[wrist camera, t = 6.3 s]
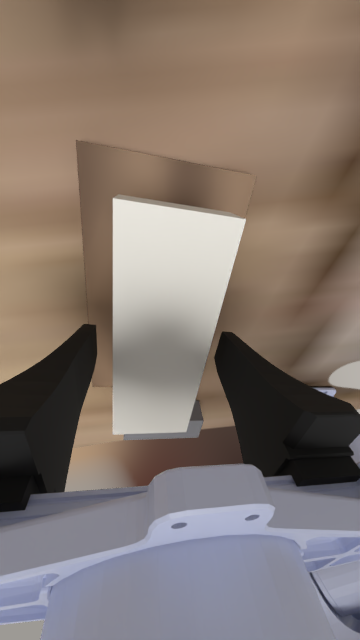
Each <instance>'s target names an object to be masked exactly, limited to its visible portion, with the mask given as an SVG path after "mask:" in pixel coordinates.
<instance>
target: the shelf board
mask: <svg viewBox="0 0 360 640" xmlns="http://www.w3.org/2000/svg"><path fill="white" fill-rule="evenodd" d="M245 222H246V219H244V218H242V217H240V216H237V215H235V214H233V213H230V212H225V211H219V210H212V209H206V208H200V207H194V206H188V205H181V204H175V203H169V202H163V201H157V200H151V199H144V198H138V197H132V196H126V195H120V194H118V195H117V196H115V197H114V198H113V435H114V434H146V433H178V432H186V431H187V428H188V424H189V421H190V417H191V413H192V410H193V406H194V403H195V399H196V396H197V392H198V389H199V385H200V381H201V378H202V374H203V371H204V367H205V364H206V360H207V357H208V353H209V350H210V346H211V342H212V339H213V335H214V332H215V328H216V325H217V321H218V318H219V314H220V310H221V307H222V303H223V300H224V296H225V293H226V289H227V286H228V282H229V278H230V275H231V271H232V268H233V264H234V261H235V257H236V254H237V250H238V247H239V243H240V239H241V236H242V232H243V229H244V225H245Z"/></svg>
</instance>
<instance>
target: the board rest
mask: <svg viewBox="0 0 360 640" xmlns="http://www.w3.org/2000/svg"><path fill="white" fill-rule="evenodd" d="M202 424H203V416H202V412H201V408H200V404H199V401H195V403H194V406H193V410H192V413H191V417H190V421H189V424H188V428H187V431H186V432H178V433H146V434H124V440H137V439H138V440H139V439H165V438H193V437H198V436H199V433H200V430H201V427H202Z"/></svg>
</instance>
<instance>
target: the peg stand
mask: <svg viewBox="0 0 360 640" xmlns="http://www.w3.org/2000/svg"><path fill="white" fill-rule="evenodd" d="M76 147H77V162H78V177H79V192H80V207H81V222H82V236H83V251H84V266H85V281H86V296H87V310H88V324H91V325H96V333H97V359H96V364H95V369H94V373H93V376H92V385H93V387H113V198H114V197H115V196H117V195H118V194H120V195H126V196H132V197H138V198H144V199H151V200H157V201H163V202H169V203H175V204H181V205H188V206H194V207H200V208H206V209H212V210H219V211H225V212H230V213H233V214H235V215H237V216H240V217H242V218H244V219H245V217H246V214H247V210H248V206H249V203H250V199H251V196H252V192H253V188H254V185H255V181H256V178H257V176H256V175H251V174H246V173H241V172H235V171H230V170H225V169H220V168H215V167H210V166H205V165H200V164H195V163H190V162H185V161H180V160H174V159H169V158H164V157H159V156H154V155H149V154H144V153H139V152H134V151H129V150H124V149H119V148H114V147H108V146H103V145H98V144H93V143H88V142H83V141H78V140H76Z"/></svg>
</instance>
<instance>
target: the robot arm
mask: <svg viewBox="0 0 360 640" xmlns="http://www.w3.org/2000/svg"><path fill="white" fill-rule="evenodd" d="M96 359H97V333H96V325H91V324H84V325H82V326H81V327H80V328H79V329H78V330H77V331H76V332H75V333H74V334H73V335H72V336H71V337H70V338H69V339H67V340H66V341H65V342H64V343H63V344H62V345H61V346H60V347H58V348H57V349H56V350H55V351H53V352H52V353H51V354H49V355H48V356H47V357H46V358H44V359H43V360H41V361H40V362H38V363H37V364H35V365H34V366H32V367H31V368H29V369H27V370H26V371H24V372H22V373H20V374H19V375H17V376H15V377H13V378H11V379H10V380H8V381H6V382H4V383H2V384H0V625H2V624H11V623H20V622H30V621H39V620H45V621H44V626H43V630H42V634H41V638H40V640H360V414H359V413H358V412H357V411H356V409H355V408H354V407H353V406H352V405H351V404H350V403H347V402H345V401H342V400H340V399H337V398H335V397H333V396H334V395H335V393H336V390H335V389H334V388H312V387H310V386H308V385H306V384H304V383H302V382H300V381H298V380H296V379H295V378H293V377H291V376H289V375H288V374H286V373H284V372H283V371H281V370H280V369H278V368H277V367H275V366H274V365H272V364H271V363H270V362H268V361H267V360H265V359H264V358H263V357H262V356H260V355H259V354H258V353H256V352H255V351H254V350H253V349H252V348H250V347H249V346H248V345H247V344H246V343H244V342H243V341H242V340H241V339H240V338H239V337H237V336H236V335H235V334H233V333H232V332H222V334H221V337H220V340H219V344H218V347H217V350H216V354H215V357H214V359H215V364H216V368H217V373H218V375H219V378H220V381H221V384H222V386H223V389H224V391H225V394H226V397H227V399H228V402H229V405H230V408H231V411H232V414H233V418H234V422H235V426H236V430H237V434H238V439H239V443H240V448H241V453H242V458H243V463H244V464H229V465H214V466H213V465H212V466H196V467H181V468H175V469H170V470H167V471H164V472H162V473H160V474H158V475H156V476H155V478H154V479H153V480H152V481H151V483H150V484H149V486H140V487H127V488H114V489H100V490H87V491H74V492H64V490H65V484H66V479H67V474H68V469H69V463H70V458H71V453H72V448H73V444H74V439H75V434H76V430H77V425H78V421H79V416H80V412H81V409H82V405H83V402H84V399H85V396H86V394H87V391H88V388H89V385H90V382H91V379H92V376H93V373H94V369H95V364H96Z"/></svg>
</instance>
